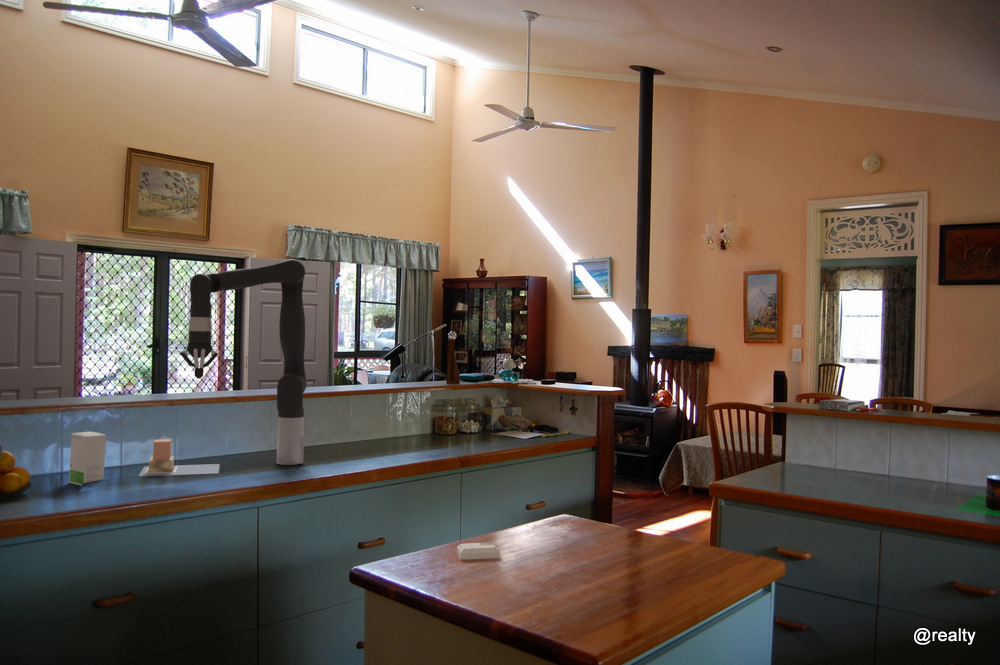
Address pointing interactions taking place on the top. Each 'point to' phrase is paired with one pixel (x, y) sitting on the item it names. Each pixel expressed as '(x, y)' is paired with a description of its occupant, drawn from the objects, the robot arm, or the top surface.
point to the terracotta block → (162, 449)
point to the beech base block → (161, 465)
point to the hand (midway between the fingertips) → (198, 378)
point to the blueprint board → (185, 470)
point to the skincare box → (87, 457)
